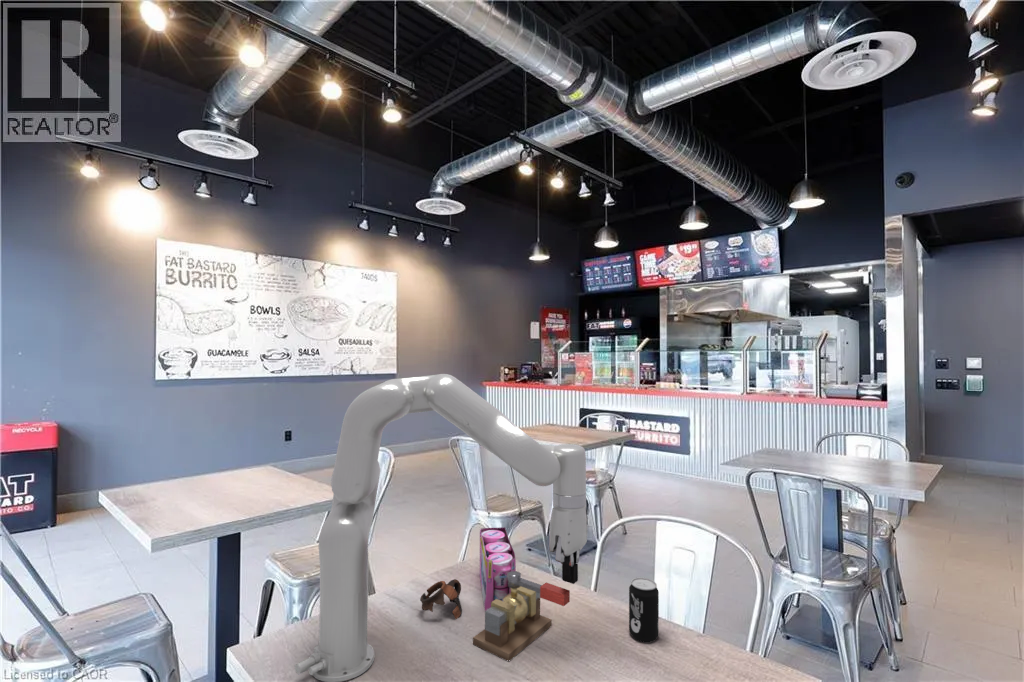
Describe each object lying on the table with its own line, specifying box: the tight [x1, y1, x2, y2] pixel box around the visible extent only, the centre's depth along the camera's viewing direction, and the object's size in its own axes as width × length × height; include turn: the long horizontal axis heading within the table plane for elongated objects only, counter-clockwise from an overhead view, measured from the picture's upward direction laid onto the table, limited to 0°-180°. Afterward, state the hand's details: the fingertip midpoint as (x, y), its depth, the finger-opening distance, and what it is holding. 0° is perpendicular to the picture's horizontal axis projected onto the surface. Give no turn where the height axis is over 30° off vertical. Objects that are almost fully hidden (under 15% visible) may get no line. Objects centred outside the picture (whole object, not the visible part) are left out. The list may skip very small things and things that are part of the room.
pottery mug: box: [419, 578, 463, 620], centre depth 122 cm, size 12×10×8 cm
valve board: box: [472, 598, 553, 662], centre depth 112 cm, size 17×10×6 cm, turn 143°
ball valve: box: [484, 586, 541, 636], centre depth 112 cm, size 16×6×8 cm, turn 143°
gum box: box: [479, 527, 517, 612], centre depth 131 cm, size 24×8×14 cm, turn 8°
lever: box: [508, 570, 571, 607], centre depth 108 cm, size 16×3×3 cm, turn 53°
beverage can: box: [628, 577, 660, 644], centre depth 112 cm, size 7×7×12 cm
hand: (570, 580), depth 110 cm, fingers closed
